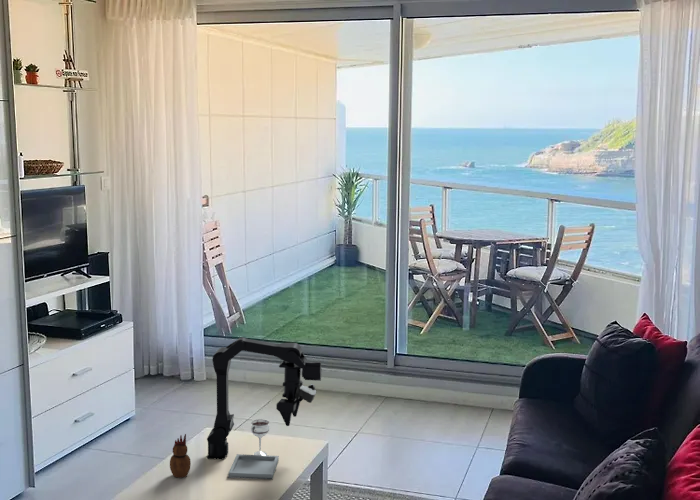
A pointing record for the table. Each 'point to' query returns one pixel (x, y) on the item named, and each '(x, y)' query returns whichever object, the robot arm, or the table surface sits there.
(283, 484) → the table surface
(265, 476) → the serving tray
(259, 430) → the wineglass
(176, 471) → the wooden figurine
